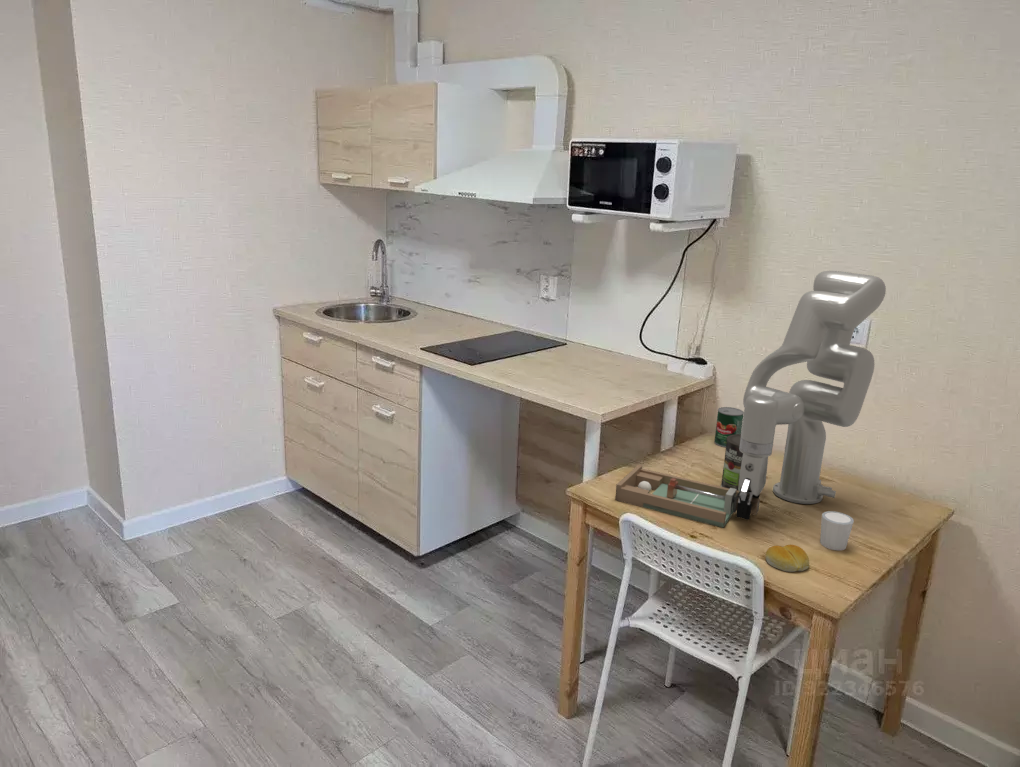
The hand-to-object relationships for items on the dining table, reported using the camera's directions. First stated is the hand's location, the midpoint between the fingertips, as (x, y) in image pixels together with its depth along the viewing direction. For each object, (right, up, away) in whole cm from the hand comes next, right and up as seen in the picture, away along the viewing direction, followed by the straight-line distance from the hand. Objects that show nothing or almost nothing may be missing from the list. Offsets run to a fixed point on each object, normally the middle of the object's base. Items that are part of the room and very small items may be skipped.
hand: (747, 510), depth 183 cm
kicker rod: (-8, +1, +4) cm, 9 cm away
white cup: (+17, -6, -10) cm, 21 cm away
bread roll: (+3, -9, -19) cm, 21 cm away
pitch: (-15, +1, +9) cm, 18 cm away
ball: (-23, +4, +13) cm, 27 cm away
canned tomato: (+10, +12, +53) cm, 55 cm away
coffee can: (+4, +3, +18) cm, 19 cm away
